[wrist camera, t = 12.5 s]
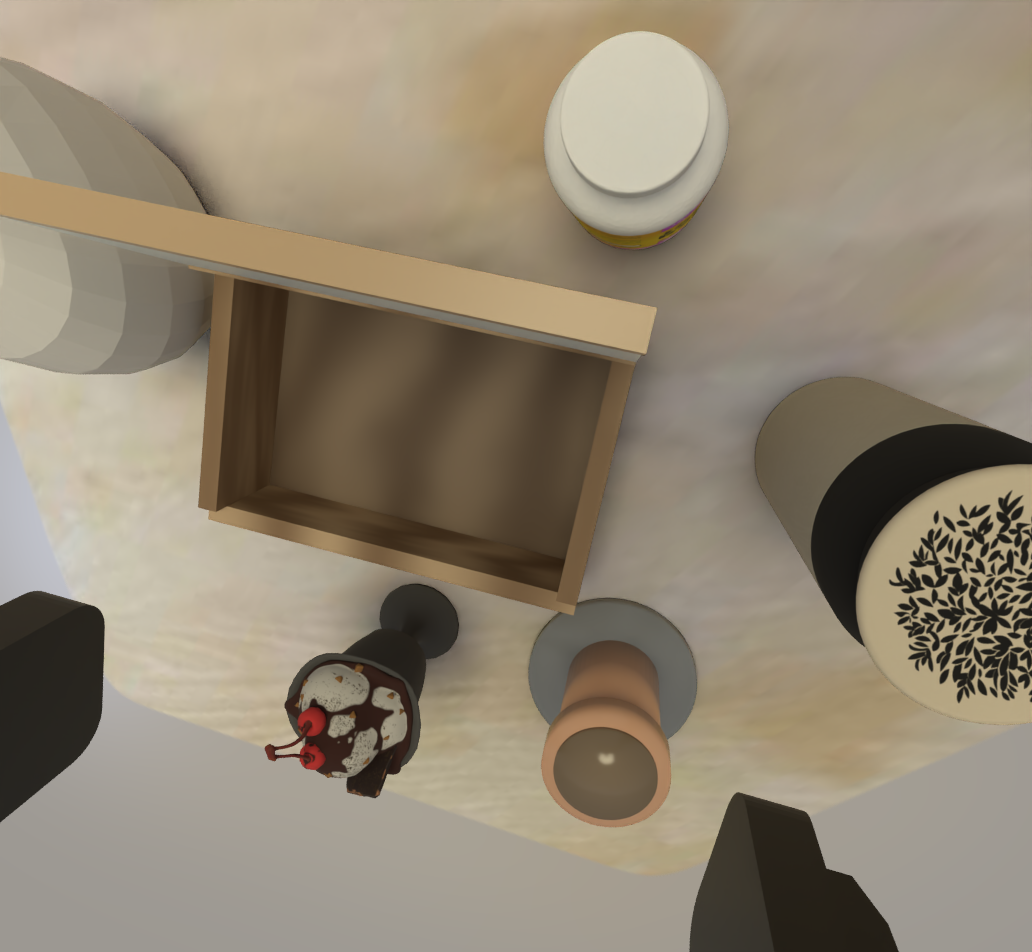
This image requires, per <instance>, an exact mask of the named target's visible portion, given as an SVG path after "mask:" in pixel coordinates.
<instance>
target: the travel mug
mask: <svg viewBox="0 0 1032 952" xmlns="http://www.w3.org/2000/svg"><path fill="white" fill-rule="evenodd" d="M755 467H756V473H757V477H758V481H759V484H760V486H761V488H762V490H763V492H764V494H765V496H766V497H767V499H768V501H769V502H770V504H771V506H772V508H773V509H774V511H775V513H776V514H777V516H778V518H779V519H780V521H781V523H782V525H783V526H784V528H785V530H786V531H787V533H788V535H789V536H790V538H791V540H792V542H793V543H794V545H795V547H796V548H797V550H798V552H799V554H800V555H801V557H802V559H803V560H804V562H805V564H806V565H807V567H808V569H809V571H810V572H811V574H812V576H813V577H814V579H815V581H816V582H817V584H818V586H819V588H820V589H821V591H822V593H823V594H824V596H825V598H826V599H827V601H828V603H829V605H830V606H831V608H832V610H833V611H834V613H835V615H836V616H837V618H838V619H839V621H840V622H841V624H842V625H843V626H844V628H845V629H846V630H847V631H848V632H849V633H850V634H851V635H852V636H853V637H854V638H855V639H856V640H857V641H858V642H859V643H860V644H862V645H863V646H864V647H866V649H867V651H868V653H869V655H870V657H871V659H872V660H873V662H874V663H875V665H876V666H877V668H878V669H879V670H880V671H881V673H882V674H883V675H884V676H885V677H886V678H887V679H888V680H889V681H890V682H891V683H892V685H893V686H895V687H896V688H897V689H898V690H900V691H901V692H902V693H903V694H905V695H906V696H907V697H909V698H910V699H912V700H913V701H915V702H917V703H919V704H920V705H922V706H924V707H926V708H928V709H930V710H933V711H935V712H937V713H940V714H942V715H945V716H948V717H951V718H955V719H959V720H963V721H968V722H974V723H980V724H992V725H1013V724H1025V723H1032V443H1029V442H1027V441H1024V440H1022V439H1019V438H1017V437H1014V436H1012V435H1009V434H1006V433H1004V432H1001V431H999V430H996V429H994V428H991V427H989V426H986V425H983V424H981V423H978V422H976V421H973V420H971V419H968V418H966V417H963V416H960V415H958V414H955V413H953V412H950V411H948V410H945V409H943V408H940V407H937V406H935V405H932V404H930V403H927V402H925V401H922V400H920V399H917V398H914V397H912V396H909V395H907V394H904V393H902V392H899V391H897V390H894V389H891V388H889V387H886V386H884V385H881V384H879V383H876V382H873V381H870V380H866V379H861V378H855V377H836V378H829V379H824V380H820V381H817V382H814V383H811V384H809V385H806V386H804V387H802V388H800V389H798V390H797V391H795V392H794V393H792V394H791V395H789V396H788V397H787V398H785V399H784V400H783V401H782V402H781V403H780V404H779V405H778V406H777V407H776V408H775V409H774V410H773V411H772V413H771V414H770V416H769V417H768V418H767V420H766V422H765V423H764V425H763V427H762V430H761V432H760V435H759V437H758V441H757V445H756V452H755Z"/></svg>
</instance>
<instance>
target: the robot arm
mask: <svg viewBox="0 0 1032 952" xmlns="http://www.w3.org/2000/svg"><path fill="white" fill-rule="evenodd" d="M104 631H105V625H104V618H103V615H102V613H101V611H100V610H99V609H98V608H96V607H95V606H92V605H88V604H85V603H81V602H78V601H74V600H71V599H67V598H64V597H60V596H56V595H53V594H49V593H46V592H42V591H33V592H29V593H26V594H24V595H21V596H19V597H18V598H15V599H13V600H11V601H9V602H7V603H5V604H3V605H1V606H0V822H1V821H2V820H4V819H5V818H6V817H7V816H9V814H11V813H12V812H13V811H14V810H16V809H17V808H18V807H19V806H21V805H22V804H23V803H24V802H26V801H27V800H28V799H29V798H30V797H32V796H33V795H34V794H35V793H36V792H38V791H39V790H40V789H41V788H43V787H44V786H45V785H46V784H48V783H49V782H50V781H51V780H52V779H54V778H55V777H56V776H57V775H58V774H60V773H61V772H62V771H63V770H64V769H66V768H67V767H68V766H69V765H71V764H72V763H73V762H74V761H75V760H76V759H77V758H78V757H79V756H80V755H81V754H82V753H83V751H84V750H85V749H86V748H87V746H88V745H89V743H90V741H91V740H92V738H93V736H94V734H95V732H96V730H97V728H98V725H99V721H100V718H101V714H102V697H103V664H104ZM690 952H899V951H898V949H897V946H896V943H895V941H894V938H893V936H892V933H891V931H890V928H889V925H888V923H887V922H886V921H885V919H884V918H883V917H882V915H881V914H880V913H879V912H878V910H877V909H876V908H875V906H874V905H873V904H872V902H871V901H870V900H869V898H868V897H867V896H866V894H865V893H864V892H863V891H862V889H861V888H860V887H859V885H858V884H857V882H856V881H855V880H854V878H853V877H852V876H850V875H846V874H843V873H839V872H836V871H832V870H829V869H826V866H825V863H824V860H823V857H822V854H821V850H820V847H819V844H818V841H817V838H816V834H815V831H814V828H813V825H812V822H811V819H810V817H809V816H808V814H807V813H806V812H805V811H802V810H799V809H795V808H792V807H788V806H785V805H781V804H778V803H774V802H771V801H767V800H764V799H760V798H757V797H753V796H750V795H746V794H743V793H739V792H738V793H736V794H735V795H734V796H733V797H732V799H731V801H730V803H729V805H728V808H727V810H726V813H725V816H724V819H723V822H722V825H721V828H720V831H719V833H718V836H717V839H716V842H715V845H714V848H713V851H712V854H711V857H710V859H709V862H708V866H707V868H706V871H705V874H704V877H703V880H702V883H701V886H700V889H699V892H698V895H697V898H696V902H695V906H694V911H693V917H692V924H691V933H690Z"/></svg>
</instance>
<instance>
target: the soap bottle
mask: <svg viewBox="0 0 1032 952" xmlns="http://www.w3.org/2000/svg"><path fill="white" fill-rule="evenodd" d="M0 172H5V173H9V174H14V175H19V176H24V177H29V178H34V179H38V180H43V181H48V182H53V183H58V184H63V185H67V186H72V187H77V188H82V189H87V190H91V191H96V192H101V193H106V194H111V195H116V196H120V197H125V198H130V199H135V200H140V201H144V202H149V203H154V204H159V205H164V206H169V207H173V208H178V209H183V210H188V211H193V212H197V213H202V214H206V212H205V210H204V209H203V207H202V205H201V203H200V201H199V199H198V198H197V196H196V194H195V192H194V190H193V189H192V187H191V186H190V184H189V183H188V181H187V180H186V178H185V177H184V175H183V174H182V173H181V171H180V170H179V168H178V167H177V166H176V165H175V164H174V163H173V162H172V161H171V160H170V159H169V158H168V157H167V156H166V155H165V154H163V153H162V152H161V151H160V150H159V149H158V148H157V147H156V146H154V145H153V144H152V143H151V142H150V141H149V140H148V139H147V138H145V137H144V136H143V135H142V134H141V133H140V132H138V131H137V130H136V129H135V128H133V127H132V126H131V125H129V124H128V123H127V122H126V121H124V120H123V119H122V118H121V117H119V116H118V115H117V114H116V113H114V112H113V111H112V110H111V109H109V108H108V107H107V106H106V105H104V104H103V103H102V102H100V101H98V100H96V99H94V98H92V97H90V96H88V95H86V94H84V93H82V92H80V91H78V90H76V89H74V88H72V87H70V86H68V85H66V84H64V83H62V82H60V81H58V80H56V79H54V78H52V77H50V76H48V75H46V74H44V73H42V72H40V71H38V70H36V69H34V68H32V67H30V66H28V65H26V64H24V63H20V62H17V61H13V60H9V59H6V58H2V57H0ZM214 275H215V274H212V273H208V272H203V271H198V270H194V269H189V268H188V265H187V264H182V263H178V262H174V261H170V260H166V259H162V258H158V257H154V256H150V255H146V254H143V253H139V252H135V251H131V250H127V249H123V248H119V247H115V246H112V245H108V244H104V243H100V242H96V241H92V240H88V239H85V238H81V237H77V236H73V235H69V234H65V233H61V232H57V231H54V230H50V229H46V228H42V227H38V226H34V225H30V224H26V223H23V222H19V221H15V220H11V219H7V218H3V217H0V358H1V359H5V360H9V361H13V362H17V363H21V364H25V365H29V366H33V367H37V368H41V369H45V370H49V371H53V372H60V373H70V374H131V373H135V372H139V371H142V370H146V369H149V368H152V367H154V366H157V365H160V364H162V363H165V362H168V361H170V360H173V359H176V358H178V357H180V356H182V355H183V354H184V353H185V352H186V351H187V350H188V349H189V348H190V347H191V346H193V345H194V343H195V342H196V341H197V340H198V339H199V338H200V337H201V336H202V335H203V334H204V333H205V332H206V331H207V330H208V329H209V327H210V326H211V318H212V304H213V289H214Z"/></svg>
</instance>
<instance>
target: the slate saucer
mask: <svg viewBox="0 0 1032 952" xmlns="http://www.w3.org/2000/svg"><path fill="white" fill-rule="evenodd" d="M605 640H614V641H621V642H625V643H628V644H631V645H633V646H635V647H637V648H638V649H640V650H641V651H642V652H644V653H645V654H646V655H647V656H648V657H649V658H650V660H651V661H652V662H653V664H654V666H655V668H656V670H657V673H658V677H659V695H660V725H661V729H662V730H663V732H664V734H665V736H666V739H669V738H670V737H672V736H673V735H674V734H675V733H676V732H677V731H678V730H679V729H680V728H681V727H682V725H683V724H684V723H685V722H686V720H687V718H688V716H689V715H690V713H691V710H692V708H693V705H694V702H695V698H696V691H697V679H696V669H695V664H694V660H693V656H692V653H691V651H690V648H689V646H688V645H687V643H686V641H685V639H684V638H683V636H682V635H681V634H680V632H679V631H678V630H677V629H676V628H675V627H674V626H673V624H672V623H671V622H669V621H668V620H667V619H666V618H664V617H663V616H662V615H660V614H659V613H657V612H655V611H654V610H652V609H650V608H648V607H646V606H644V605H641V604H638V603H635V602H632V601H627V600H622V599H612V598H603V599H593V600H588V601H584V602H581V603H577V604H576V607H575V611H574V616H573V615H570V614H566V613H562V612H560V613H559V614H557V615H556V616H555V617H554V618H553V619H551V620H550V621H549V623H548V624H547V625H546V626H545V627H544V628H543V630H542V631H541V633H540V634H539V636H538V638H537V640H536V642H535V645H534V648H533V651H532V655H531V658H530V663H529V685H530V690H531V694H532V697H533V700H534V702H535V704H536V706H537V708H538V710H539V711H540V713H541V715H542V716H543V717H544V719H545V720H546V721H547V723H548V724H549V725H550V726H551V724H552V722H553V721H554V719H555V718H556V717H557V716H558V714H559V713H560V710H561V705H562V700H563V695H564V691H565V686H566V681H567V676H568V671H569V667H570V664H571V662H572V660H573V659H574V657H575V656H576V655H577V654H578V653H579V652H580V651H581V650H582V649H583V648H585V647H587V646H588V645H590V644H593V643H596V642H599V641H605Z"/></svg>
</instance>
